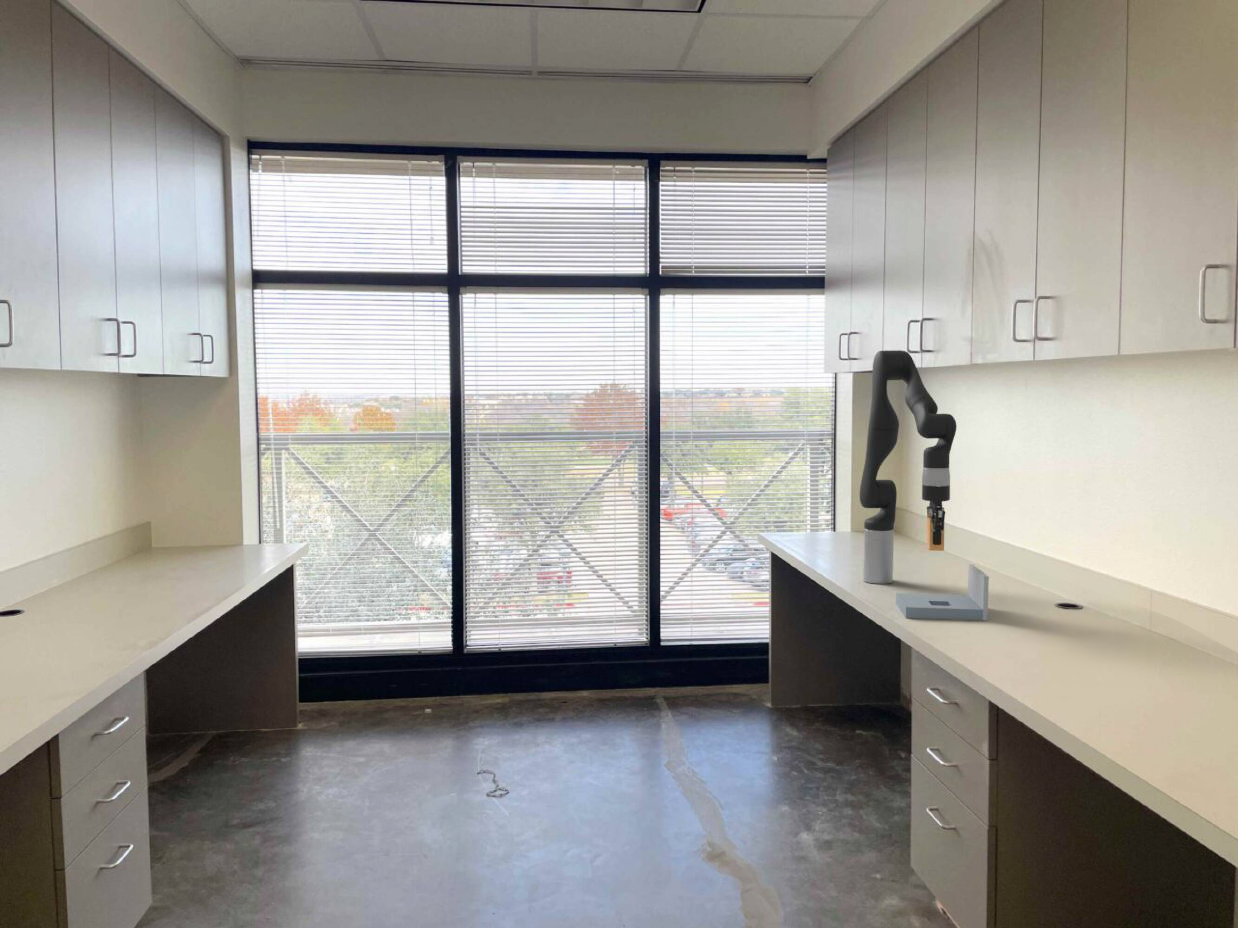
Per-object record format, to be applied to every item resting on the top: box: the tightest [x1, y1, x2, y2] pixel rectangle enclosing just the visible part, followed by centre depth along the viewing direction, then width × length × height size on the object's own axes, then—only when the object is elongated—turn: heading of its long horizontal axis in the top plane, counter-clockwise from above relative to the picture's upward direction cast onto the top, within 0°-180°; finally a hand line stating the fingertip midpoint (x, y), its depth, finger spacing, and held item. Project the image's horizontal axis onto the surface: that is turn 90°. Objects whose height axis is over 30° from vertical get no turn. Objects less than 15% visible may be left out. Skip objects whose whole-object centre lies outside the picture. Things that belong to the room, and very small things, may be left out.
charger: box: [926, 517, 945, 552], centre depth 262 cm, size 4×4×9 cm
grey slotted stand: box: [895, 563, 990, 622], centre depth 256 cm, size 18×21×12 cm
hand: (935, 543), depth 262 cm, fingers closed on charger, 4 cm apart
